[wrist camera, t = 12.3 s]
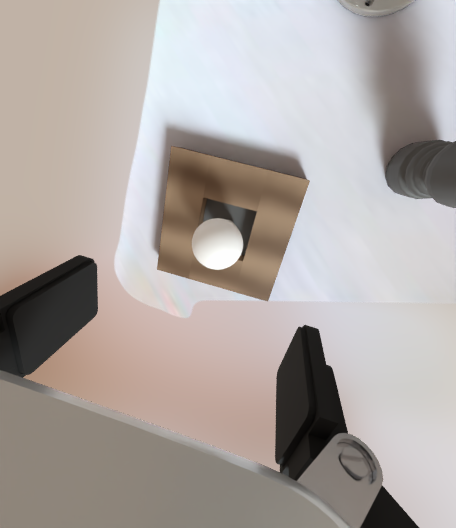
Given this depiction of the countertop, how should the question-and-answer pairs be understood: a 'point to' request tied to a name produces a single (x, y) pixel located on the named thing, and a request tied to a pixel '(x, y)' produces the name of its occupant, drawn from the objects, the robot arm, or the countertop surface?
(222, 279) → the socket block
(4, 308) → the robot arm
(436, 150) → the candle holder
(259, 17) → the countertop surface
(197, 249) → the lightbulb
